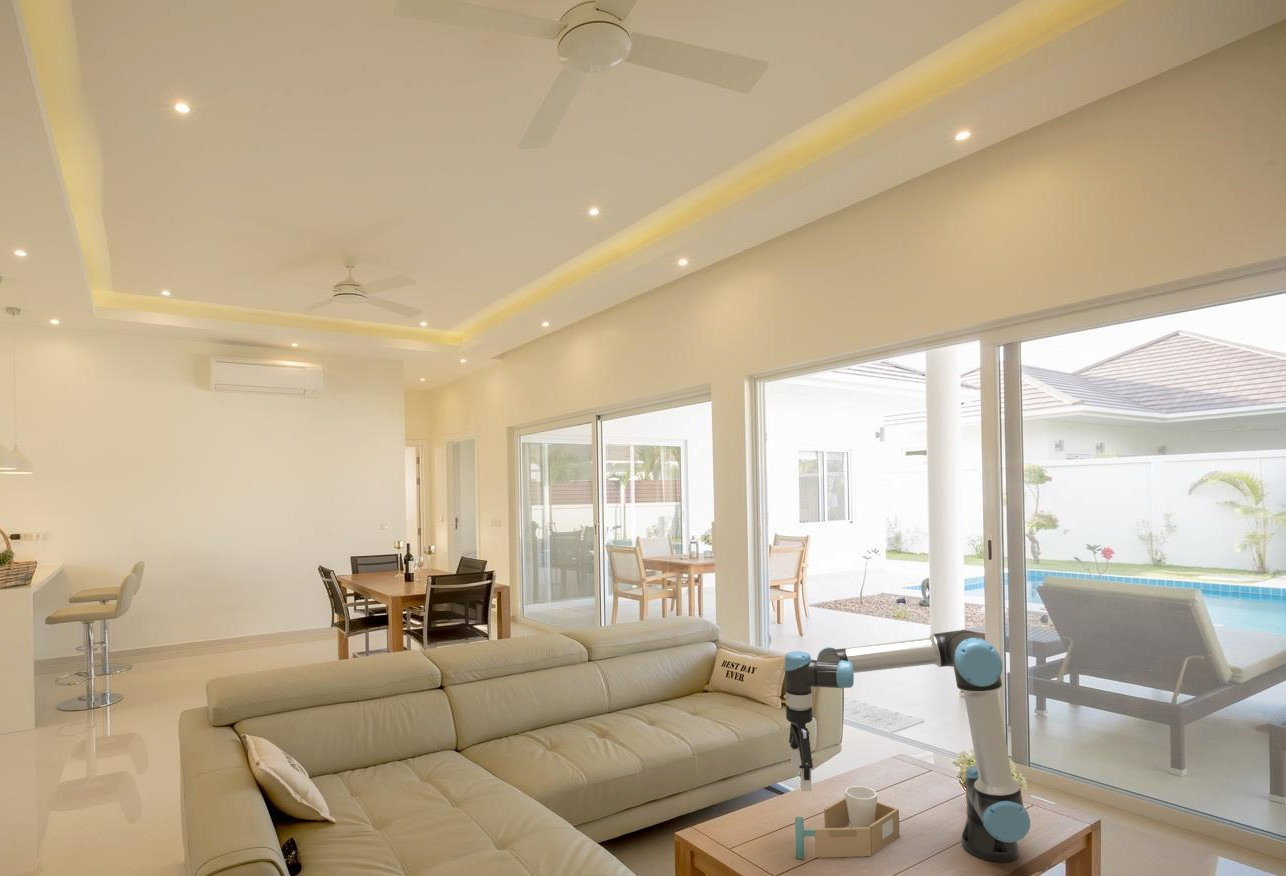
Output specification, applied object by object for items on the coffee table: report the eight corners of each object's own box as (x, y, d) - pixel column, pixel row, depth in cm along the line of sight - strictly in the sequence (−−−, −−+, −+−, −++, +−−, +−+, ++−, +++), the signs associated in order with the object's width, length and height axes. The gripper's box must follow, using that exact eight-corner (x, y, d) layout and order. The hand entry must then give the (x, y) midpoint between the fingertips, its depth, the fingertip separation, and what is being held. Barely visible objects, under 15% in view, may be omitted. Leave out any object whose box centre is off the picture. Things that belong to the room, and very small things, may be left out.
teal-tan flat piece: (869, 853, 212) (868, 815, 212) (871, 857, 209) (870, 818, 210) (795, 855, 211) (794, 816, 212) (797, 859, 209) (796, 820, 209)
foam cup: (843, 839, 220) (841, 795, 221) (849, 825, 229) (848, 783, 229) (875, 846, 216) (874, 801, 217) (880, 832, 224) (879, 789, 225)
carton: (899, 836, 222) (899, 809, 222) (872, 855, 211) (871, 827, 211) (853, 818, 234) (852, 792, 234) (824, 835, 223) (824, 808, 223)
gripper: (778, 693, 225) (780, 763, 224) (795, 721, 200) (797, 799, 199) (802, 693, 225) (804, 763, 224) (822, 720, 200) (824, 799, 199)
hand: (801, 780), depth 212 cm, fingers open, 13 cm apart
